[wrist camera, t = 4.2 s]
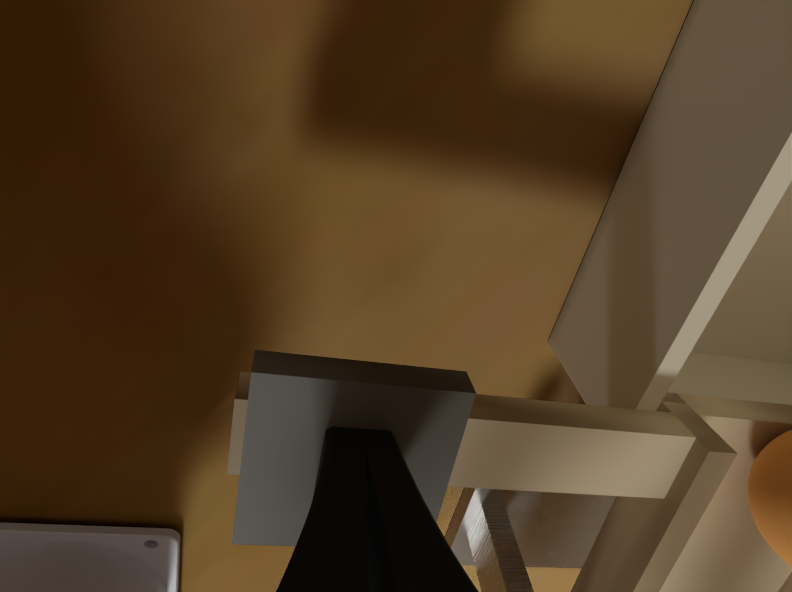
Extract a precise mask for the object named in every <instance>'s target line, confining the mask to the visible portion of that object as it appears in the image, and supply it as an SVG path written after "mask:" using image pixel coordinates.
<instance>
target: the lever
mask: <svg viewBox="0 0 792 592" xmlns="http://www.w3.org/2000/svg"><path fill="white" fill-rule="evenodd" d="M332 426H334V427H347V428H360V429H373V430H386V431H391V432H392V433H393V434H394V436H395V438H396V441H397V443H398V446H399V448H400V450H401V453H402V455H403V457H404V459H405V462H406V464H407V466H408V468H409V470H410V473H411V475H412V477H413V479H414V481H415V483H416V485H417V487H418V489H419V491H420V493H421V495H422V497H423V499H424V501H425V503H426V505H427V507H428V508H429V510H430V512H431V514H432V516H433V518H434V520H435V521H437V518H438V515H439V512H440V508H441V505H442V502H443V499H444V496H445V492H446V489H447V486H448V487H466V488H483V489H501V490H519V491H537V492H554V493H572V494H590V495H608V496H616V498H615V500H614V502H613V504H612V506H611V508H610V510H609V512H608V515H607V517H606V519H605V521H604V523H603V525H602V527H601V529H600V531H599V533H598V536H597V538H596V540H595V542H594V544H593V546H592V548H591V550H590V552H589V554H588V557H587V559H586V561H585V563H584V565H583V567H582V569H581V571H580V573H579V576H578V578H577V580H576V582H575V584H574V586H573V588H572V590H571V592H792V567H791V566H790V565H789V564H787V563H786V562H785V561H784V560H783V559H782V558H781V557H780V556H779V555H778V554H777V553H776V552H775V551H774V550H773V549H772V548H771V547H770V546H769V544H768V543H767V542H766V540H765V539H764V538H763V536H762V535H761V533H760V531H759V529H758V527H757V526H756V524H755V521H754V519H753V516H752V513H751V510H750V506H749V502H748V478H749V475H750V471H751V468H752V465H753V463H754V461H755V459H756V457H757V456H758V455H759V453H760V452H761V451H762V450H763V449H764V448H765V447H766V446H767V445H768V444H769V443H770V442H771V441H772V440H774V439H775V438H776V437H778V436H780V435H781V434H783V433H785V432H787V431H790V430H792V405H788V404H778V403H768V402H759V401H749V400H739V399H729V398H720V397H710V396H700V395H690V394H681V393H676V394H675V396H674V398H673V400H672V402H665V401H661V403H660V405H659V407H658V409H657V411H649V410H638V409H629V408H618V407H608V406H597V405H586V404H576V403H565V402H554V401H544V400H533V399H523V398H512V397H501V396H491V395H480V394H476V392H475V390H474V387H473V385H472V383H471V381H470V379H469V376H468V374H467V372H465V371H455V370H445V369H436V368H426V367H416V366H406V365H397V364H387V363H377V362H367V361H358V360H348V359H338V358H328V357H319V356H309V355H299V354H289V353H280V352H270V351H260V350H255V354H254V360H253V365H252V370H251V373H246V372H240V376H239V381H238V385H237V390H236V394H235V399H234V409H233V419H232V429H231V439H230V449H229V459H228V469H227V474H235V475H240V476H239V484H238V493H237V502H236V511H235V520H234V529H233V538H232V544H242V545H274V546H296V544H297V542H298V539H299V537H300V534H301V532H302V529H303V526H304V524H305V521H306V518H307V516H308V513H309V510H310V506H311V503H312V500H313V495H314V490H315V484H316V479H317V474H318V468H319V463H320V458H321V452H322V447H323V442H324V436H325V431H326V430H327V429H329V428H330V427H332Z"/></svg>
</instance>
